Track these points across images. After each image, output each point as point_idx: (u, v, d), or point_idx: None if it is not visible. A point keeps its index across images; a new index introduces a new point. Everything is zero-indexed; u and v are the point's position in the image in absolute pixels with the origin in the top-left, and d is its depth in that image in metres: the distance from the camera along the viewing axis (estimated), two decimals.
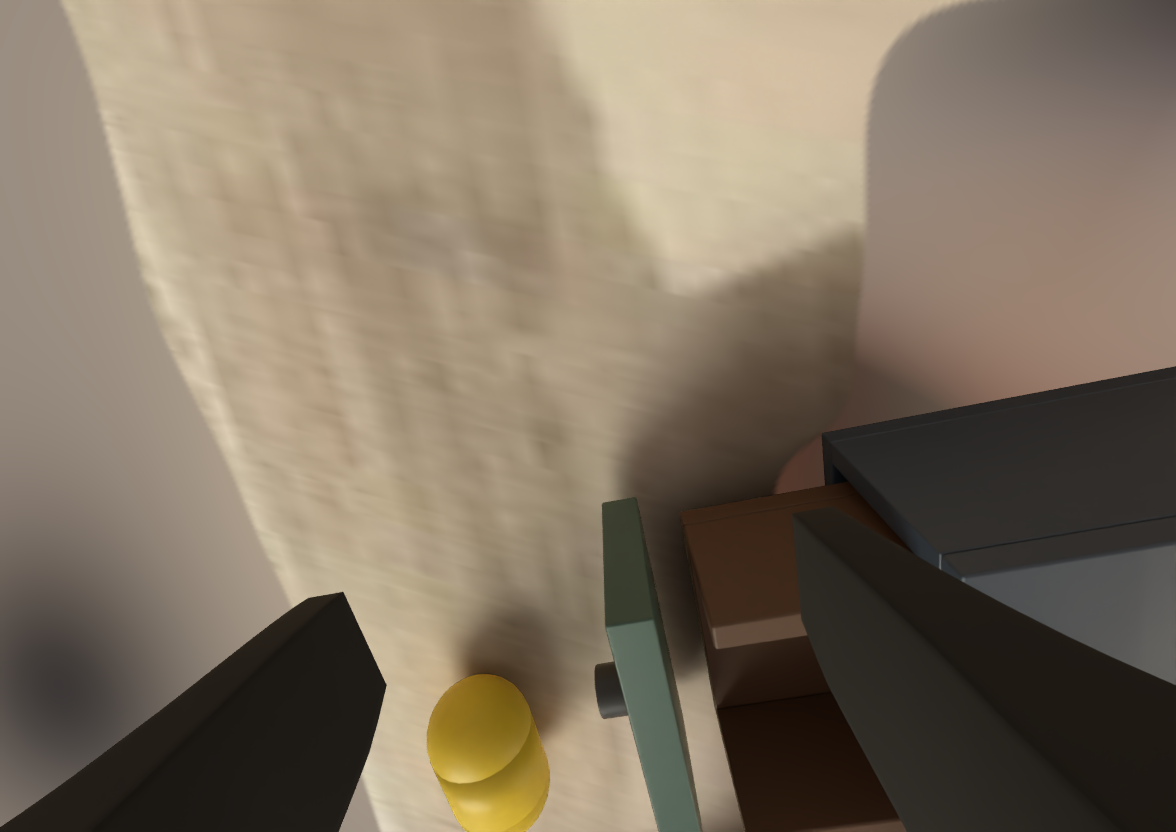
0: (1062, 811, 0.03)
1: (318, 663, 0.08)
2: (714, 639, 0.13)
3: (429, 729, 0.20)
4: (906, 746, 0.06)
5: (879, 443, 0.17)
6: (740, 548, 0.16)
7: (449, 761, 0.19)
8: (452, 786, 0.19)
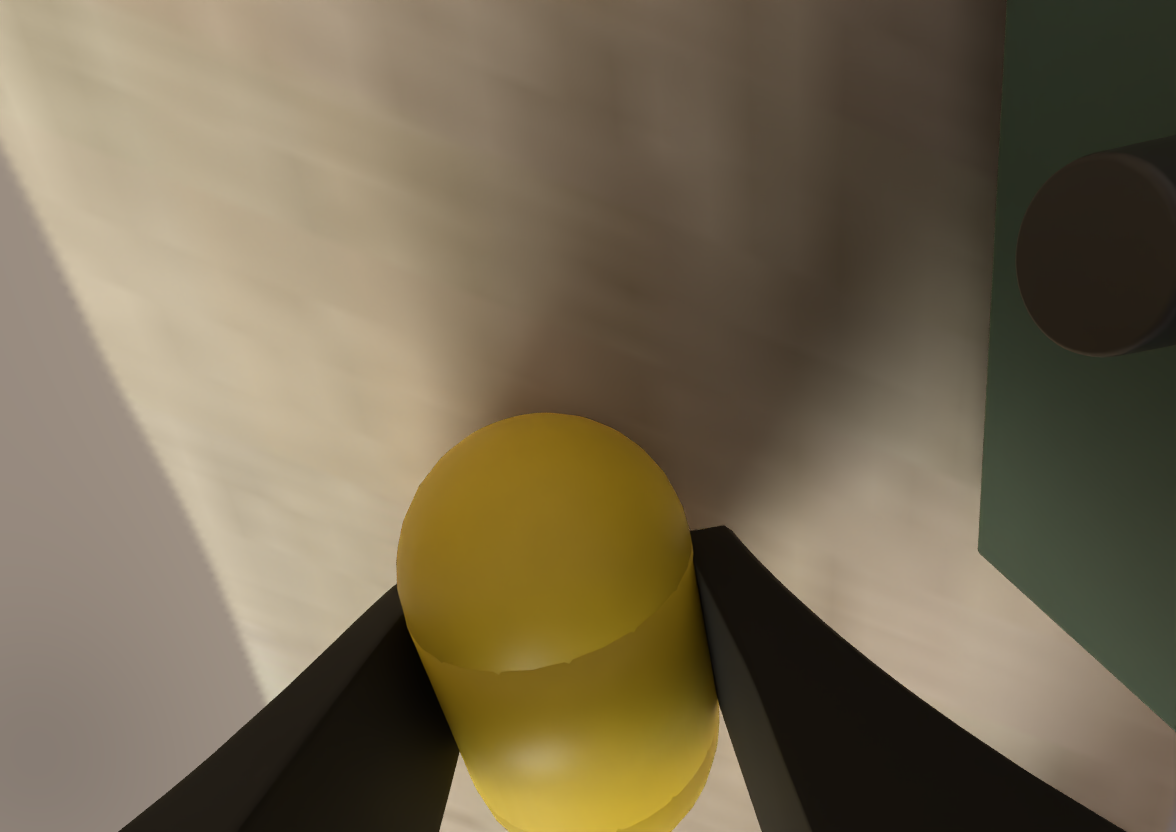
0: None
1: None
2: None
3: (404, 528, 0.07)
4: (755, 766, 0.06)
5: None
6: None
7: (466, 599, 0.06)
8: (474, 686, 0.06)
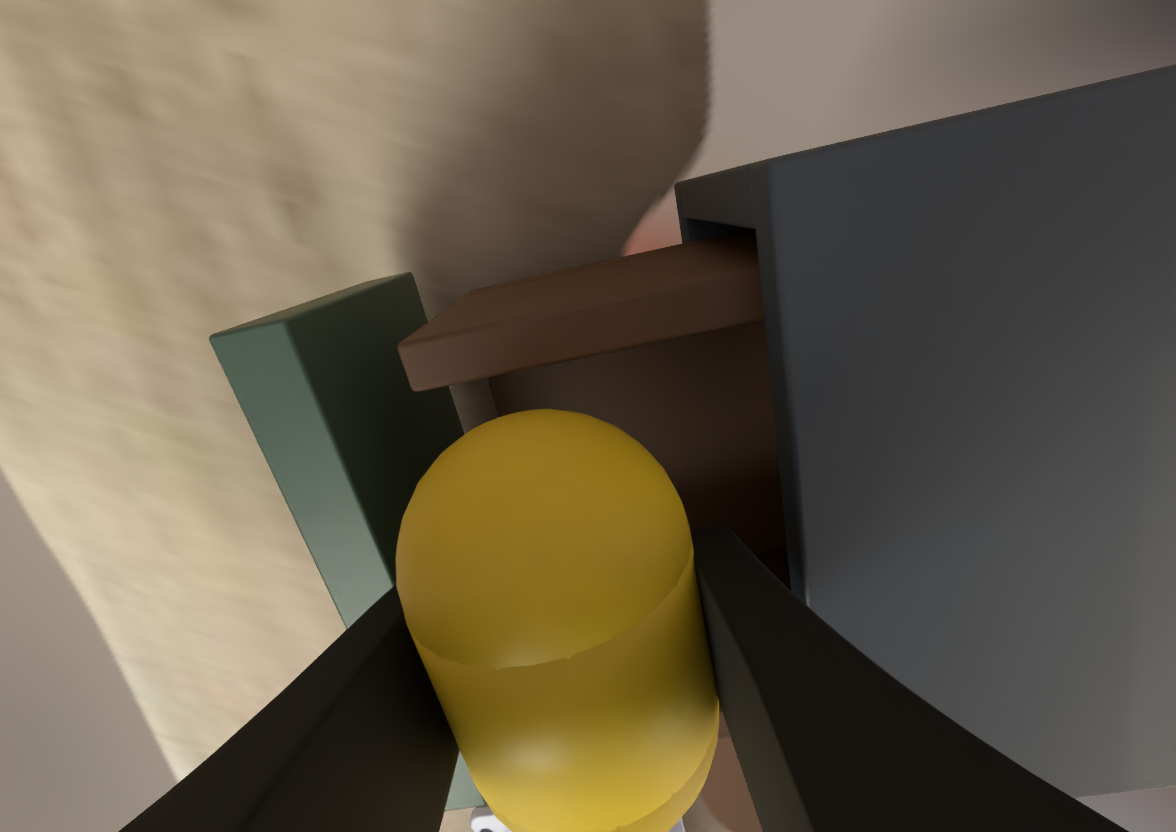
0: None
1: None
2: (406, 372, 0.08)
3: (403, 524, 0.07)
4: (755, 767, 0.06)
5: None
6: (513, 294, 0.10)
7: (465, 595, 0.06)
8: (474, 683, 0.06)
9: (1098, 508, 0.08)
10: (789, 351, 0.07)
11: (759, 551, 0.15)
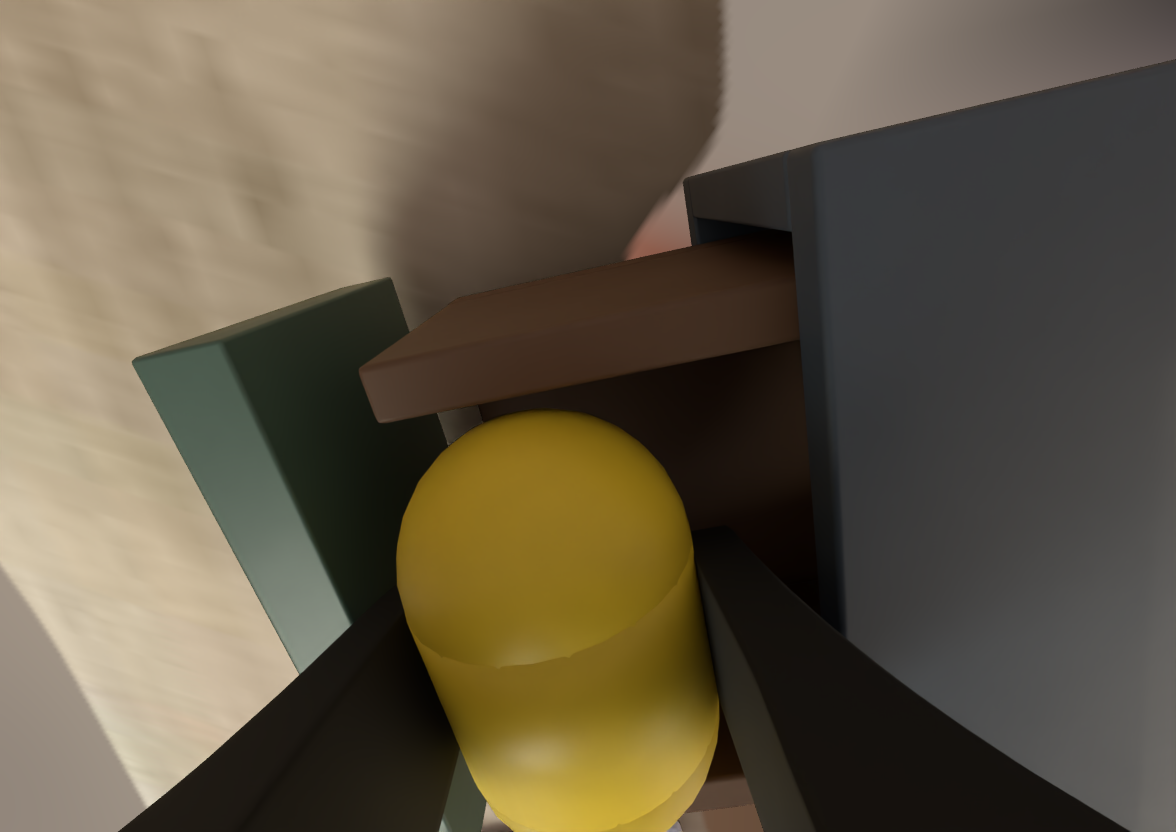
0: None
1: None
2: (369, 400, 0.07)
3: (404, 523, 0.07)
4: (756, 766, 0.06)
5: None
6: (500, 304, 0.09)
7: (466, 593, 0.06)
8: (474, 681, 0.06)
9: None
10: (835, 382, 0.06)
11: None
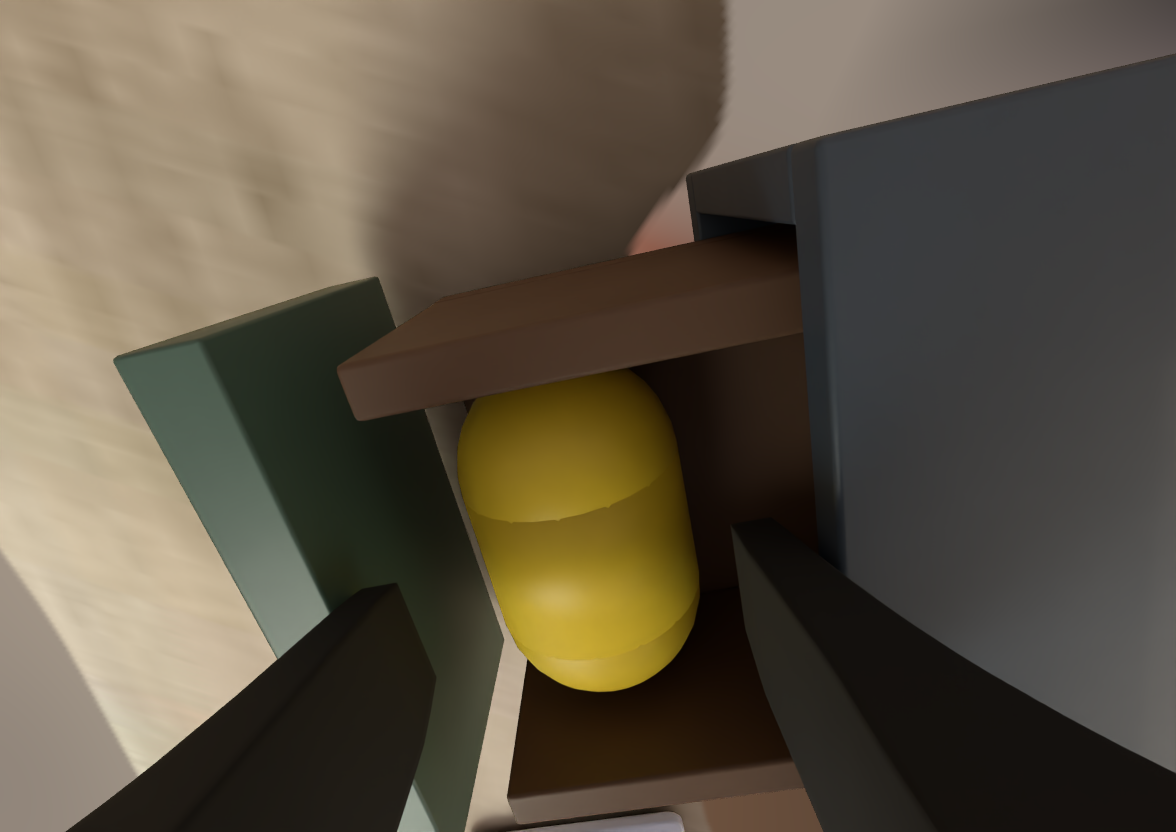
0: (915, 828, 0.04)
1: (378, 653, 0.08)
2: (347, 398, 0.07)
3: (467, 435, 0.09)
4: (820, 758, 0.06)
5: None
6: (483, 303, 0.09)
7: (532, 468, 0.08)
8: (538, 536, 0.08)
9: None
10: (837, 373, 0.06)
11: None
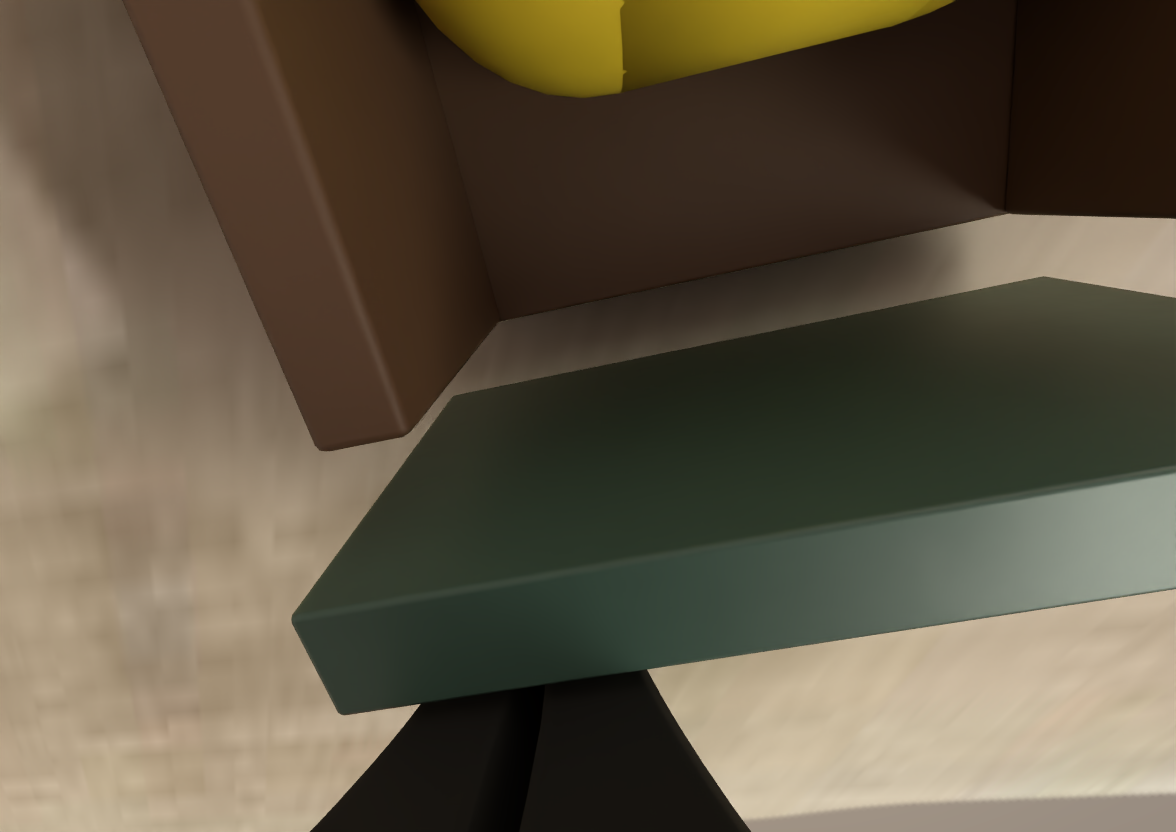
0: None
1: None
2: (367, 442, 0.04)
3: None
4: None
5: None
6: None
7: None
8: None
9: None
10: None
11: None
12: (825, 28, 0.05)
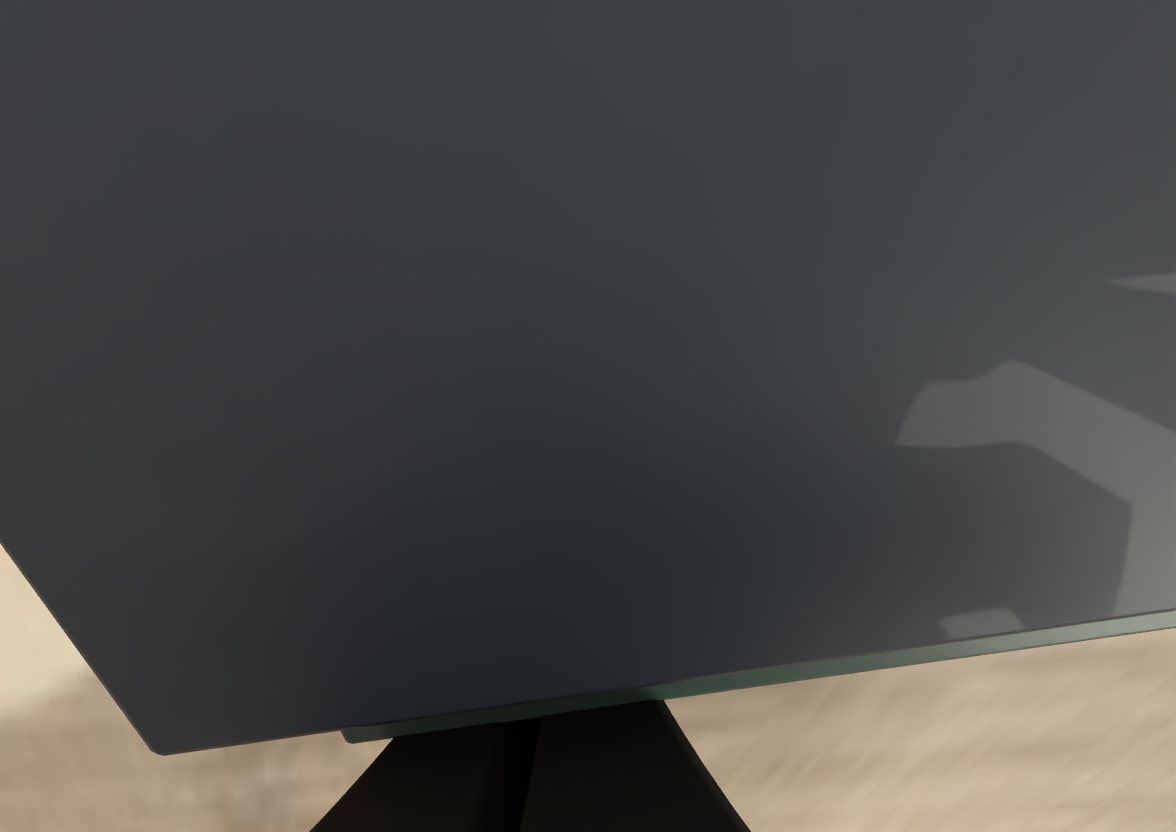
0: None
1: None
2: None
3: None
4: None
5: None
6: None
7: None
8: None
9: None
10: (452, 711, 0.04)
11: None
12: None
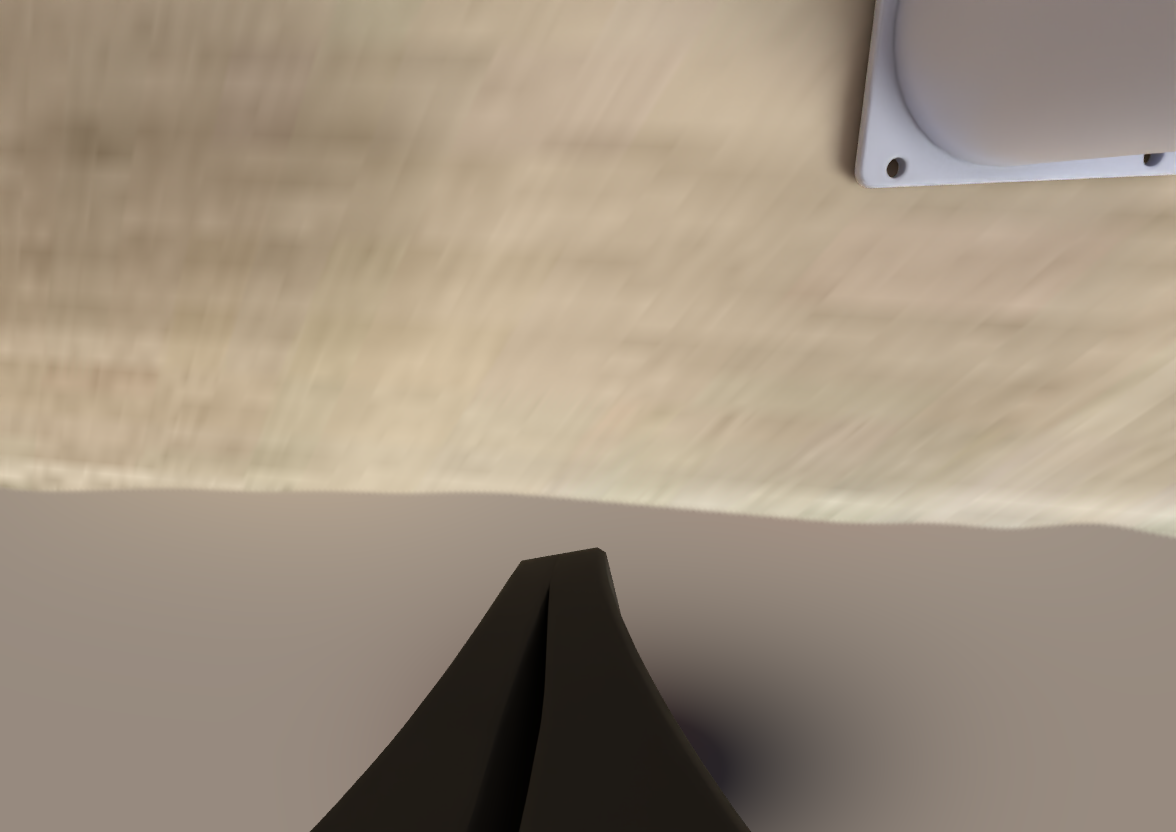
0: None
1: None
2: None
3: None
4: None
5: None
6: None
7: None
8: None
9: None
10: None
11: None
12: None
